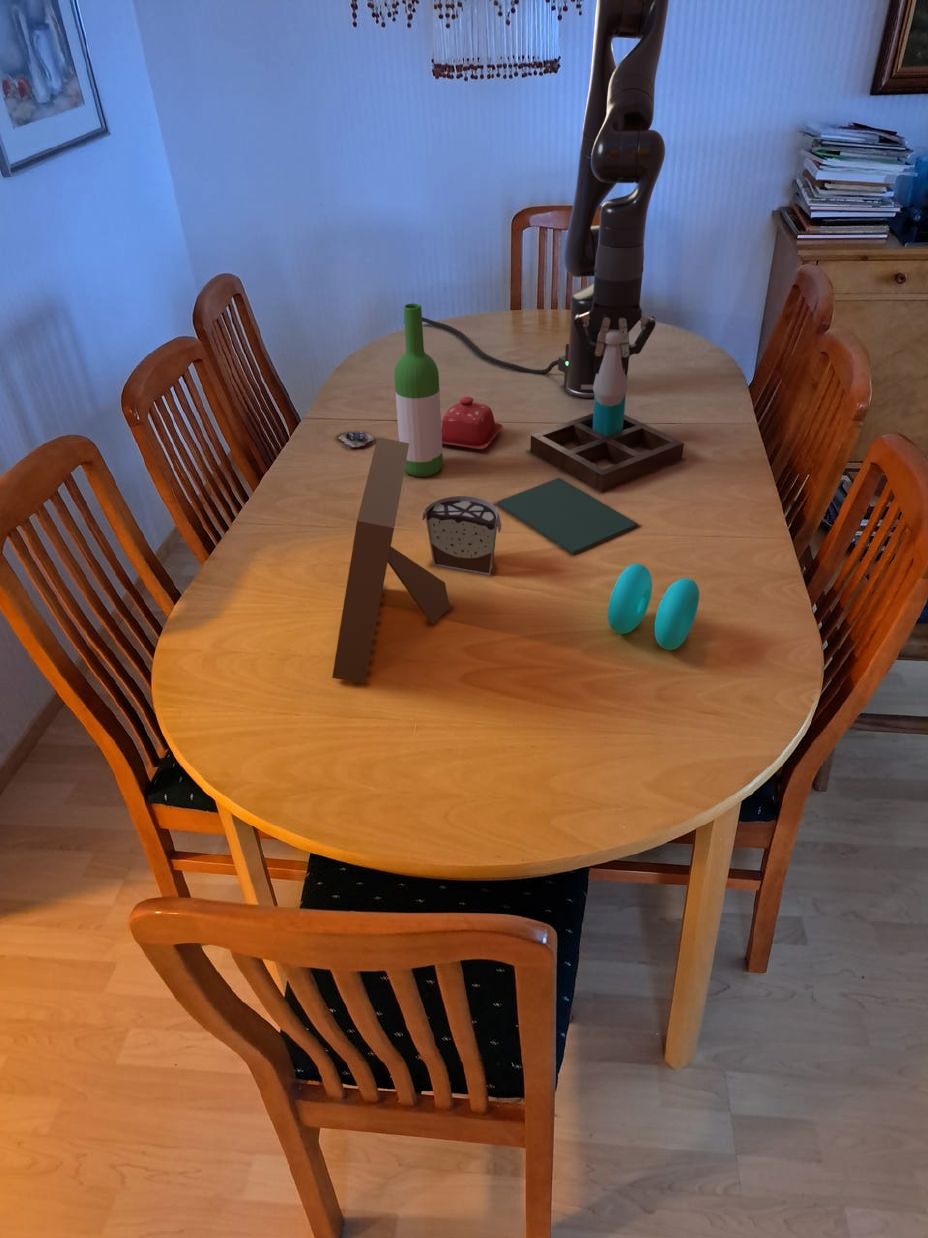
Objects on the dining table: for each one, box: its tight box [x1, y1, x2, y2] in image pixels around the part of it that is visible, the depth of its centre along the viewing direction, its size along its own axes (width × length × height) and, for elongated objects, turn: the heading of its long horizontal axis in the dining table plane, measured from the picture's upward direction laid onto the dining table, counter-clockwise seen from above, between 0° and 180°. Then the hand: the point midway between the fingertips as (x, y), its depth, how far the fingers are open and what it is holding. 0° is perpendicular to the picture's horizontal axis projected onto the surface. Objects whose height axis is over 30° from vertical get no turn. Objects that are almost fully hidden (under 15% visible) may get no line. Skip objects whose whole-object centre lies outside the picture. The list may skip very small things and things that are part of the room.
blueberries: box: [338, 430, 376, 448], centre depth 176 cm, size 7×8×2 cm
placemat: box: [496, 477, 639, 555], centre depth 152 cm, size 20×14×1 cm
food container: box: [421, 495, 502, 576], centre depth 139 cm, size 12×6×10 cm, turn 71°
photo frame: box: [331, 436, 451, 684], centre depth 120 cm, size 15×22×25 cm
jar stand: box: [530, 412, 685, 493], centre depth 168 cm, size 20×20×4 cm
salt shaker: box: [593, 329, 628, 406], centre depth 152 cm, size 6×6×13 cm
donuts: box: [607, 563, 700, 651], centre depth 122 cm, size 10×10×10 cm
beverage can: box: [592, 373, 628, 436], centre depth 169 cm, size 6×6×15 cm
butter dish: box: [441, 396, 503, 450], centre depth 173 cm, size 12×12×8 cm
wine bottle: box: [393, 302, 444, 478], centre depth 157 cm, size 8×8×30 cm
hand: (610, 375), depth 153 cm, fingers closed on salt shaker, 3 cm apart
